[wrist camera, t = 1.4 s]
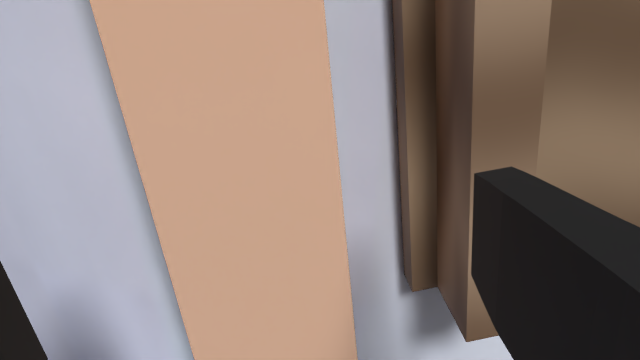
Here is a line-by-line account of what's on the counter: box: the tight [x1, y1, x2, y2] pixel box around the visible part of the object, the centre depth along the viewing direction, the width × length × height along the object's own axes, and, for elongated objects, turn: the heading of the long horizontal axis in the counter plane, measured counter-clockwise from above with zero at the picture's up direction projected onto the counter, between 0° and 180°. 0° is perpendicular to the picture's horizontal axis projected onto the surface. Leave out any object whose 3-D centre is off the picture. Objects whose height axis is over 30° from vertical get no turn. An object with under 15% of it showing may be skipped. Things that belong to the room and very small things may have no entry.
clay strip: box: [89, 0, 357, 360], centre depth 14 cm, size 14×4×3 cm, turn 6°
